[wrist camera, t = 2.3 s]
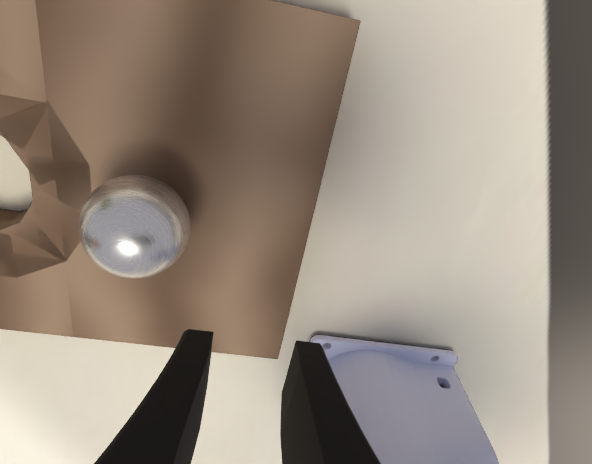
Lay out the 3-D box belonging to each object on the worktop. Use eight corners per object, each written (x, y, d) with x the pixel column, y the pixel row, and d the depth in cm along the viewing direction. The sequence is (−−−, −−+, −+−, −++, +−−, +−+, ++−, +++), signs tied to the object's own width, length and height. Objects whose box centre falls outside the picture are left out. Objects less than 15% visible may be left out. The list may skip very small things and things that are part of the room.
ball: (202, 169, 16) (181, 212, 13) (195, 249, 18) (175, 306, 14) (101, 152, 15) (50, 192, 12) (105, 236, 17) (62, 292, 14)
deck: (351, 19, 15) (360, 20, 14) (277, 333, 23) (277, 359, 22) (-233, -115, 13) (-314, -135, 11) (-88, 290, 21) (-121, 315, 19)
